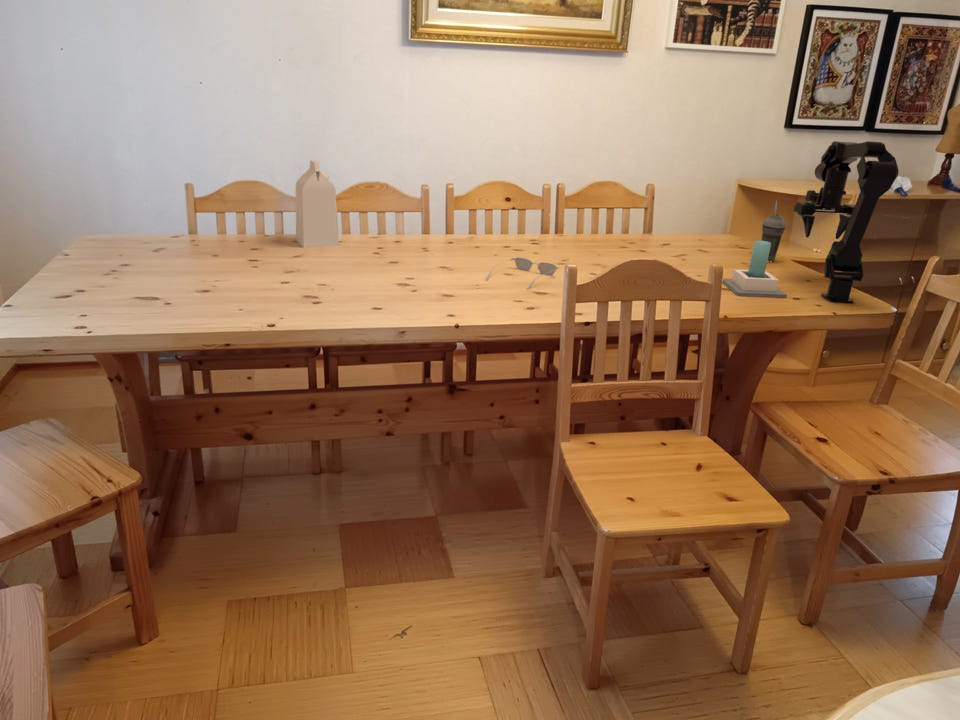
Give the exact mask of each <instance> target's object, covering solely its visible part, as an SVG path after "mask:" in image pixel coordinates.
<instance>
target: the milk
mask: <svg viewBox="0 0 960 720" xmlns="http://www.w3.org/2000/svg"><path fill="white" fill-rule="evenodd" d="M329 178H330V177H329V176H328V175H327V173H325V172H324V171H321V170H320V164H319V161H317V160H316V159H310V160H309V168H308V169H307V170H306V171H305V172H304V173H303V174H302V175H301V176H300V177H299V178H298V180H297V181H296V183H295V240H296V241H297V242H298V243H299V244H300V245H301V246H302V248H304V249H305V248H307V249H308V248H320V247H322V248H325V247H337V246H338V247H339V246H340V237H339V222H338V221H339V220H338V209H337V208H338V205H337V193H336V187H335V185H334V184H333V183H332V181H330V180H329Z"/></svg>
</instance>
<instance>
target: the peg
mask: <svg viewBox="0 0 960 720" xmlns="http://www.w3.org/2000/svg"><path fill="white" fill-rule="evenodd" d="M770 247H771V243H770V242H767V241H762V240H754V242H753V248H752V253H751V257H750V262H749V267H748V270H749V271H748V277H752V278H764V275H765V271H766V270H767V265H768V262H767V261H768V256H769V251H770Z"/></svg>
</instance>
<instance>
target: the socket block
mask: <svg viewBox="0 0 960 720" xmlns="http://www.w3.org/2000/svg"><path fill="white" fill-rule="evenodd" d="M748 271H749V269H733V274H732V278H722V279H723V283H722V284H724V285H725V286H726V287H727V288H728V289H729V290H730V291H731V292H732V293H734V294H735V295H736V296H737V297H751V298H752V297H755V298H774V299H776V298H777V299H778V298H779V299H780V298H781V299H787V296H788V294H787V293H786V292H784V291H783V290H782V289H780V288H779V287H778V285H779V279H778V278H777V277H776V276H774V275H772V274H771V273H770V272H768V271H766V270H765V275H764V278H752V277H748Z"/></svg>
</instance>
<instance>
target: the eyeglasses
mask: <svg viewBox="0 0 960 720" xmlns="http://www.w3.org/2000/svg"><path fill="white" fill-rule="evenodd" d="M510 261H514V262H515V267H516V268H517V269H518V270H523V271H530V270H531V269H532V267H533V264H534V265H537V271H539V273H540V275H538V276H537V277H536V278H534V279H533V281H532V282H531V283H530V284H529V285H528V286H527V288H526V290H527V291H528V290H531V288H532V286H533V284H534V282H536V280H537V279H538V278H539V277H542V276H544V275H548V276H553V275H554V274H555V272H556V271H557V270H559V267H560V266H557V265H556V264H554V263H549V262H539V263H537V262H533V261H532V260H531V259H527V258H525V257H515V258H514V257H512V258H510V259H509V260H506V261H503V262H500V263H498V264H495V265H494V266H493V267H492V268H491V270H490V271H489V273H488V275H487V276H486V278H485V281H486V282H488V281H489V279H490V276H491V274H492V271H493V270H494V269H495V267H497V266H499V265H502V264H504V263H506V262H510Z"/></svg>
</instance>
